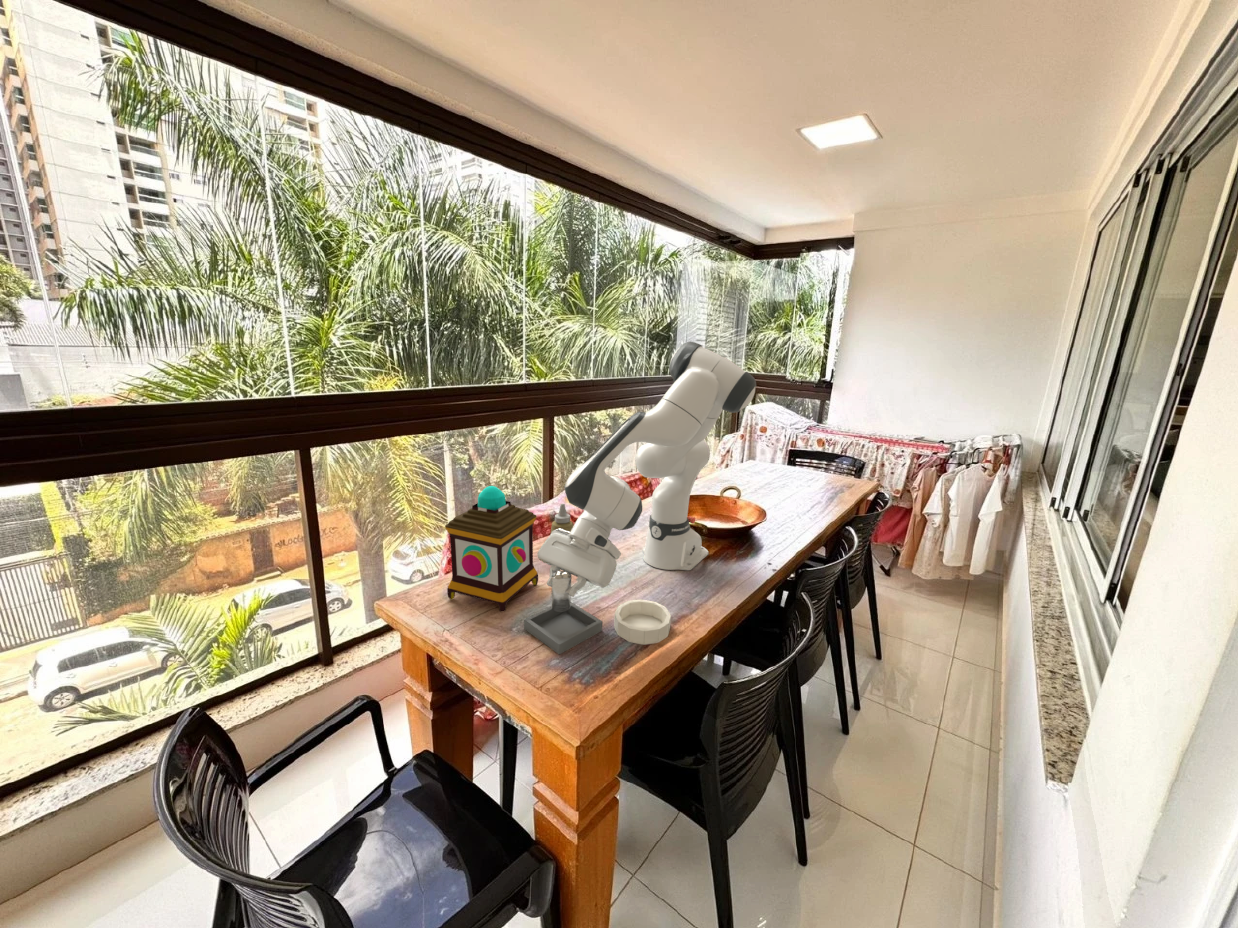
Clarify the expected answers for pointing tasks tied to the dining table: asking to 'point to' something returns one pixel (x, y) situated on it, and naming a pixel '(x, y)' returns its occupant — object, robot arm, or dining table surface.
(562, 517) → the squeeze bottle
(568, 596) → the pebble cup
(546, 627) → the tray
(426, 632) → the dining table surface
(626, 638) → the bowl
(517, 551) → the decorative lantern
